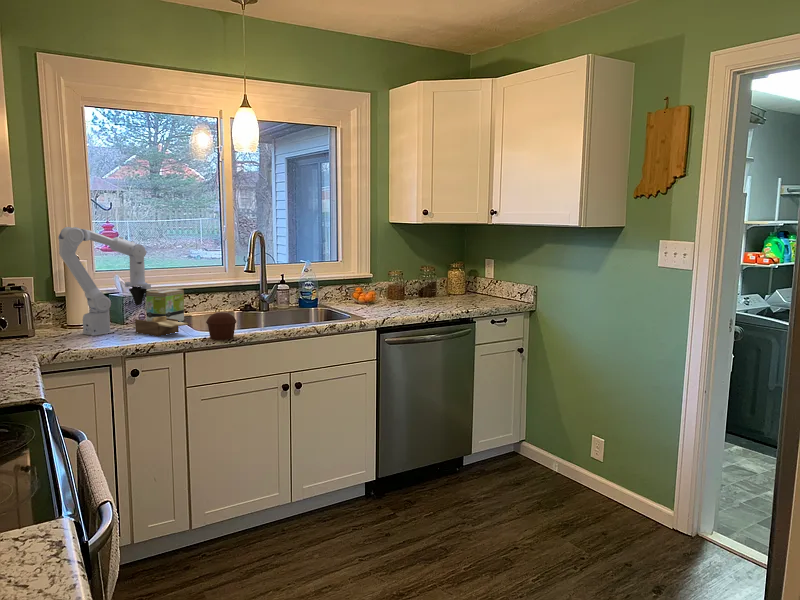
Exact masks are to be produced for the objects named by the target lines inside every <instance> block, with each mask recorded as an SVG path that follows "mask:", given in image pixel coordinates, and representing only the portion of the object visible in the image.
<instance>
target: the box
mask: <svg viewBox="0 0 800 600" xmlns="http://www.w3.org/2000/svg"><path fill="white" fill-rule="evenodd" d="M166 319H167V320H170V321H177V322H178V320H176V319H170V318H166ZM134 321H135V323H134V324H135V333H136V332H138V333H137V334H140V333H143V334H142V335H146V334H149V335H148V336H152V335H154V336H153V337H162V336H161V335H164V336H167V335H166V334H170V333H175V332H180V331H179V330H180V329H179V326H177V327H165V326H159V323H157V322H152V321H147V320H143V319H134ZM175 334H176V333H175ZM170 335H171V334H170Z"/></svg>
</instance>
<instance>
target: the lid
mask: <svg viewBox="0 0 800 600" xmlns="http://www.w3.org/2000/svg"><path fill="white" fill-rule="evenodd" d="M152 322H157V323H159V326H165V327H177V326H178V327H182V326H188V325H189V323H188V322H184V321H180V322H177V321H170V320H167V319H166V316H162V317H155V318H152Z"/></svg>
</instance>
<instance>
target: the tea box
mask: <svg viewBox="0 0 800 600" xmlns="http://www.w3.org/2000/svg"><path fill="white" fill-rule="evenodd" d="M184 290H185V289H174V288H173V289H172V288H164V289H163V288H162V289H156V290H150V291H148V290H147V291H146V292H145V295H146V296H145V297H146V299H145V301H146V310H145V311H146V320H145V321H152V318H155V317H162V316H166V318H170V319H176V320H178V321H180V322H184V320H185V291H184Z"/></svg>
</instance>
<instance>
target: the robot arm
mask: <svg viewBox="0 0 800 600" xmlns="http://www.w3.org/2000/svg"><path fill="white" fill-rule="evenodd" d="M57 239H58V255H59V256H60V258H61V259H62V261H63V262H64V264H65V265H66V267H67V268H68V269H69V271H70V273H71V275H72V276H73V277H74V279H75V280H76V282H77V284H78V285H79V286H80V288H81V289H82V291H83V292H84V296H85V298H86V301H87V302H86V303H87V306H88V307H89V312H87V313H84V314H83V316H82V333H81V334H83V335H88V336H92V337H93V336H94V337H95V336H100V335H101V336H102V335H108V333H109V334H114V333H113V332H115V333H116V331H114V330H111V320H110V319H111V317H110V308H111V307H112V301H111V299H110V298H109V297H108V296H106V295H105V294H104V293H103V292H102V290H100V289H99V288H98V286H97V285H96V283H95V281H94V280H93V278H92V277H91V276H90V274H89V272H88V271H87V270H86V268H85V266H84V264H82V262H81V260H80V259H79V257H78V255H77V254H76V253H77V250H78V247H79V246H80V245H81V244H82V242H83V241H84V242H88V241H92V242H96V243H99V244H102V245H106V246H108V247H109V248H110V251H113V252H116V253H119V254H122V255H125V256H126V255H127V256H128V257H129V281H126V282H124V287H125V288H128V291H129V292H130V293H131V296H132V298H133V301H134V304H135V306H142V305H143V300H144V296H145V295H146V292H148V290H151V289H152V284H151V283H148V282H146V276H145V275H146V269H145V266H146V265H145V257H146V255H147V250H146V248H145V246H144V245H142V244H138V243H135V241H132V240H131V241H130V240H127V239H124V237H122V236H119V237H118V236H116V237H113V238H111V237H108V236H105V235H103V234H101V233H98V232H95V231H93V230H89V229H85V228H80V227H77V226H76V227H71V226H66V227H64V228H62V229H61V230H60V232H59V234H58V237H57Z"/></svg>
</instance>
